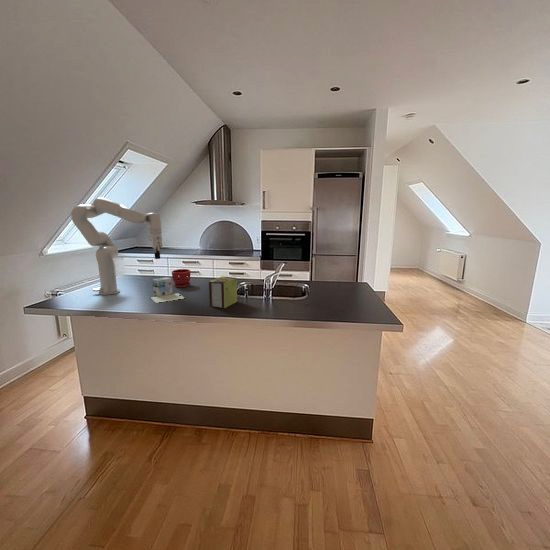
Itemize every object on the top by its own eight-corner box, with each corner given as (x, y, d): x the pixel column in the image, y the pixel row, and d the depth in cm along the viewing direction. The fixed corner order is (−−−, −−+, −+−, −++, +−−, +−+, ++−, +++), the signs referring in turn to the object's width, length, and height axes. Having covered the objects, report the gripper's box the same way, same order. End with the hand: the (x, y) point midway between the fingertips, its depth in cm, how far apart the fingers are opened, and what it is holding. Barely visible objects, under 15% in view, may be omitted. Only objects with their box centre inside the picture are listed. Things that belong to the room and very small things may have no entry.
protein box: (237, 301, 184) (237, 277, 181) (224, 308, 170) (223, 282, 167) (223, 299, 188) (222, 275, 184) (209, 306, 174) (208, 281, 170)
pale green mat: (155, 303, 178) (155, 302, 177) (150, 297, 189) (150, 297, 189) (185, 298, 188) (185, 298, 188) (178, 293, 199) (178, 293, 199)
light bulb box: (158, 296, 190) (157, 280, 188) (153, 295, 194) (151, 279, 192) (173, 293, 198) (172, 277, 197) (167, 292, 202) (166, 277, 201)
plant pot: (176, 283, 227) (175, 268, 224) (193, 284, 226) (192, 269, 224) (169, 288, 214) (168, 272, 211) (187, 288, 213) (186, 272, 211)
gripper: (164, 232, 192) (166, 259, 196) (158, 230, 204) (160, 256, 207) (152, 232, 187) (154, 260, 191) (146, 231, 199) (149, 257, 203)
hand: (157, 258), depth 199 cm, fingers closed
